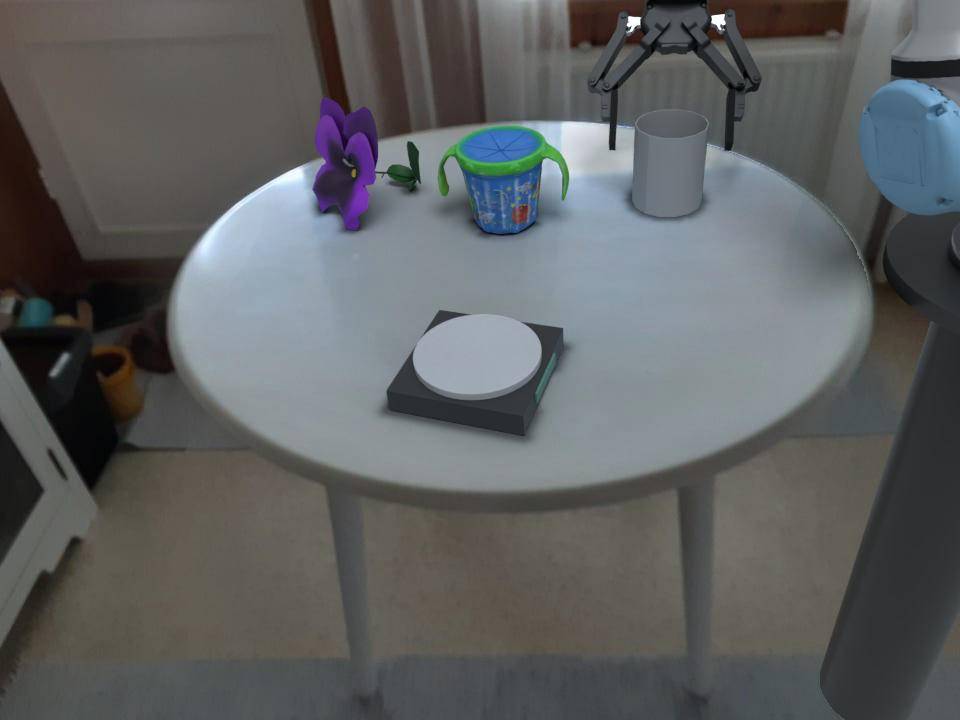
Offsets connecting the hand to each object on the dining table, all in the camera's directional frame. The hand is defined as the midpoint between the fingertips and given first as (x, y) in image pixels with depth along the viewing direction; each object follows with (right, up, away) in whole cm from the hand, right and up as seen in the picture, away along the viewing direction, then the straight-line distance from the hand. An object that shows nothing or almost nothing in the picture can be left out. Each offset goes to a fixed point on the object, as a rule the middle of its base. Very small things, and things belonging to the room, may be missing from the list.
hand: (669, 147), depth 101 cm
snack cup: (-19, -9, +3) cm, 21 cm away
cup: (0, -6, +4) cm, 7 cm away
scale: (-23, -27, -20) cm, 41 cm away
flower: (-36, -5, +9) cm, 38 cm away
